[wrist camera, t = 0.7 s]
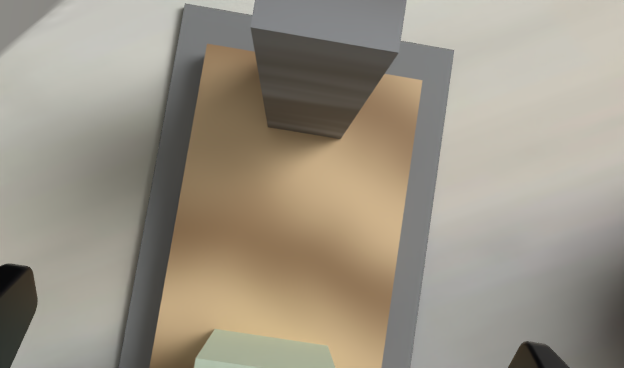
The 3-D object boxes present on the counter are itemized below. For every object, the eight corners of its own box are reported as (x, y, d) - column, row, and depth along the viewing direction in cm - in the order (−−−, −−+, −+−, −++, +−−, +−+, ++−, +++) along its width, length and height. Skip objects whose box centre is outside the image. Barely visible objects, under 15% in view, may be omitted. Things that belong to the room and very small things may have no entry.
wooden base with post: (358, 490, 22) (451, 824, 10) (138, 459, 21) (-52, 767, 9) (416, 86, 23) (561, -63, 11) (210, 51, 23) (126, -143, 11)
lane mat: (359, 715, 21) (360, 722, 21) (63, 679, 21) (60, 686, 21) (452, 52, 24) (454, 50, 23) (186, 6, 23) (184, 3, 23)
